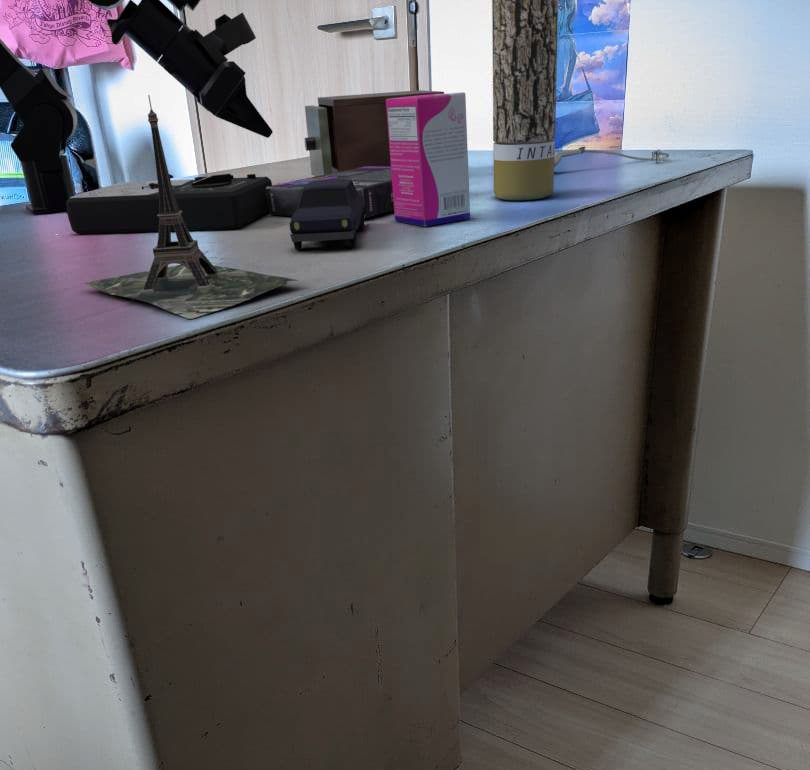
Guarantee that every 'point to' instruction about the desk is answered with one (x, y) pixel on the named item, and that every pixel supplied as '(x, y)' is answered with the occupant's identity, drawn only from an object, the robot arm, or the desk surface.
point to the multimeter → (197, 199)
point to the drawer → (320, 139)
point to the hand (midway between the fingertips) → (270, 134)
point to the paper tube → (524, 97)
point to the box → (365, 179)
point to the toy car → (328, 212)
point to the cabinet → (363, 127)
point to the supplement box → (429, 158)
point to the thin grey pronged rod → (582, 150)
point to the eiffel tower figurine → (184, 263)
